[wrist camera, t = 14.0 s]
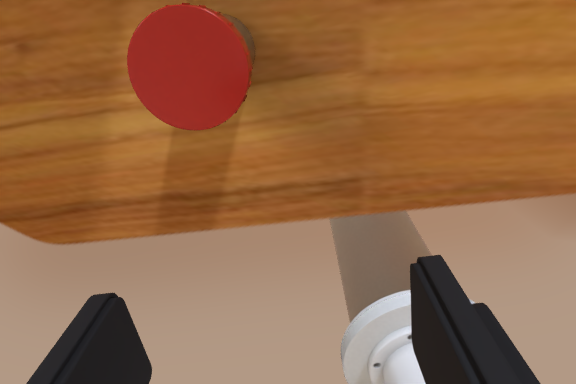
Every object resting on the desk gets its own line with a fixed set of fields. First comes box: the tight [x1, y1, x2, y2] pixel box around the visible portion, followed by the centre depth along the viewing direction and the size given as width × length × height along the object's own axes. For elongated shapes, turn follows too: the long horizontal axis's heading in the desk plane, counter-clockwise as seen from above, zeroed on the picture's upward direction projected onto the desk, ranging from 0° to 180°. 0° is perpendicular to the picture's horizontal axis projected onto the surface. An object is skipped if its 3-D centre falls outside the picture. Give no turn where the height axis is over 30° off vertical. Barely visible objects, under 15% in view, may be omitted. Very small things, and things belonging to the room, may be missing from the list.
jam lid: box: [127, 3, 253, 130], centre depth 22 cm, size 7×7×2 cm
